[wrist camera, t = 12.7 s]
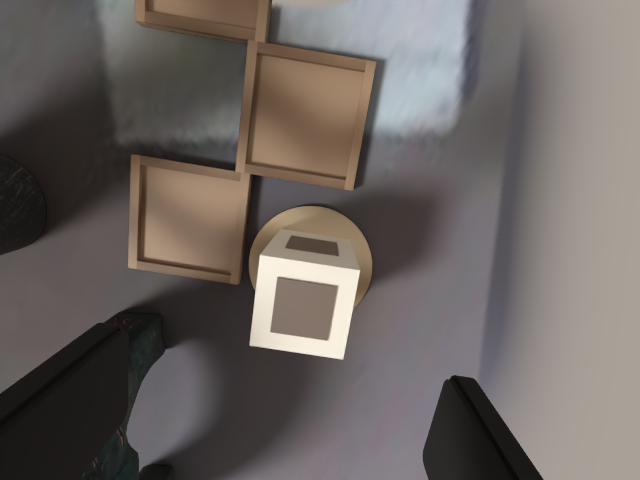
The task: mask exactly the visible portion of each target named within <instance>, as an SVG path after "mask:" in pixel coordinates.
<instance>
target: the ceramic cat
mask: <svg viewBox="0 0 640 480" xmlns="http://www.w3.org/2000/svg"><path fill="white" fill-rule="evenodd" d="M104 323H108V324H114V325H121V326H122V327H123V329H124V331H125V332H127V333H128V336H129V356H128V411H127V415H126V417H125V419H124V421H123V422H122V424H121V425H120V427H119V428H118V429H117V430H116V432H115V433H114V434H113V436H112V437H111V438H110V440H109V441H108V442H107V443H106V445H105V446H104V447H103V449H102V450H101V451H100V453H99V454H98V455H97V457H96V458H95V459H94V460H93V462H92V463H91V464H90V466H89V467H88V468H87V470H86V471H85V472H84V474H83V475H82V476H81V477H80V479H79V480H175V475H174V470H173V469H172V466H158V465H148V466H146V467H143V468H142V470H141V471H140V472H139V457H138V453H137V452H136V451H135V450H134V449H133V448H132V447H131V446H130V444H129V443H128V440H127V436H126V430H127V424H128V421H129V417H130V414H131V411H132V408H133V405H134V402H135V399H136V396H137V393H138V390H139V388H140V385H141V383H142V381H143V379H144V377H145V376H146V374H147V372H148V371H149V369H150V368H151V366H152V365H153V364H154V363H155V362H156V361H157V360H158V359H159V358H160V357H161V356H162V355H163V353H164V351H165V344H164V341H163V338H162V316H161V315H157V314H144V313H120V312H119V313H117V314H116V315H114V316H113V317H111V318H110V319H109V320H107V321H106V322H104ZM73 341H74V340H73Z"/></svg>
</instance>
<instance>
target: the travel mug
mask: <svg viewBox="0 0 640 480" xmlns="http://www.w3.org/2000/svg"><path fill="white" fill-rule="evenodd" d="M45 219H46V205H45V200H44V197H43V194H42V192H41V189H40V187H39V185H38V184H37V182H36V181H35V179H34V178H33V177H32V175H31V174H30V173H29V172H28V171H27V170H26V169H25V168H23V167H22V166H21V165H20V164H18V163H17V162H15V161H13V160H12V159H10V158H7V157H5V156H2V155H0V255H2V254H6V253H9V252H12V251H15V250H18V249H21V248H23V247H25V246H27V245H29V244H30V243H32V242H33V241H34V240H35V239H36V238H37V237H38V236H39V234H40V233H41V231H42V229H43V227H44V224H45Z"/></svg>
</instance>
